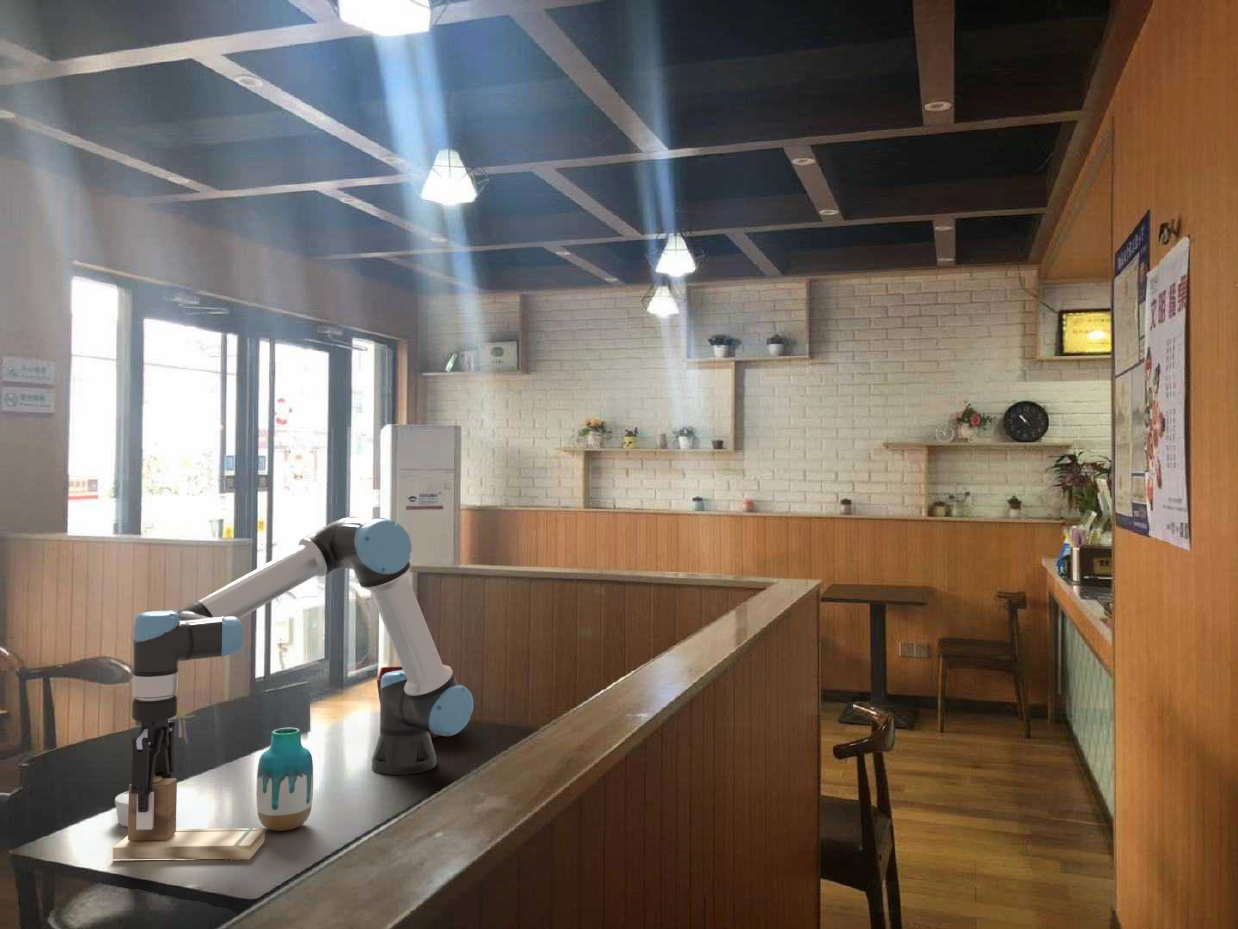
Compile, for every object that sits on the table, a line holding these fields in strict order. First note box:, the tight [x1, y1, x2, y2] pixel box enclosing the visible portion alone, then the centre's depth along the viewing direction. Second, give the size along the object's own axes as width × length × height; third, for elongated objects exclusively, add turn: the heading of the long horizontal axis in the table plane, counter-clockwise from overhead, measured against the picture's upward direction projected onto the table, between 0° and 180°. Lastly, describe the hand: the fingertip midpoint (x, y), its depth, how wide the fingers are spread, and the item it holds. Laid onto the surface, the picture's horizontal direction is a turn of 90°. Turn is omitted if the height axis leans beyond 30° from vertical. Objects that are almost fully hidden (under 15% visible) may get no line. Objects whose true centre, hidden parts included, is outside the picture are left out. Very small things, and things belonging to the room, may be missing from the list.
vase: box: [255, 727, 314, 832], centre depth 192 cm, size 11×11×19 cm
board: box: [112, 827, 266, 861], centre depth 180 cm, size 24×9×3 cm, turn 94°
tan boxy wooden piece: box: [127, 776, 178, 841], centre depth 181 cm, size 7×8×11 cm
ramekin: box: [114, 790, 129, 828], centre depth 196 cm, size 11×11×5 cm
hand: (152, 822), depth 180 cm, fingers open, 6 cm apart
